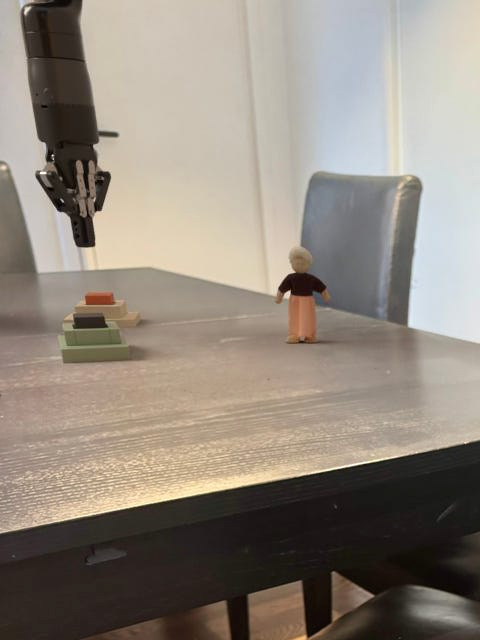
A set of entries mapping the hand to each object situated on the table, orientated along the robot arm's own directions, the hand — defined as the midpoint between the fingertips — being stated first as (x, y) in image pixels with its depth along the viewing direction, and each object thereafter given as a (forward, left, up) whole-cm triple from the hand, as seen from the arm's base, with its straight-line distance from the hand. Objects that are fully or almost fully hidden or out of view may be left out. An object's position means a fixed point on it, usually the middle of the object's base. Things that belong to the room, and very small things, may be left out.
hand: (85, 247), depth 126 cm
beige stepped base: (-9, +7, -12) cm, 16 cm away
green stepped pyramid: (+12, -8, -12) cm, 19 cm away
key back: (-9, +7, -9) cm, 14 cm away
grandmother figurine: (+24, +18, -12) cm, 32 cm away
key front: (+12, -8, -9) cm, 17 cm away
